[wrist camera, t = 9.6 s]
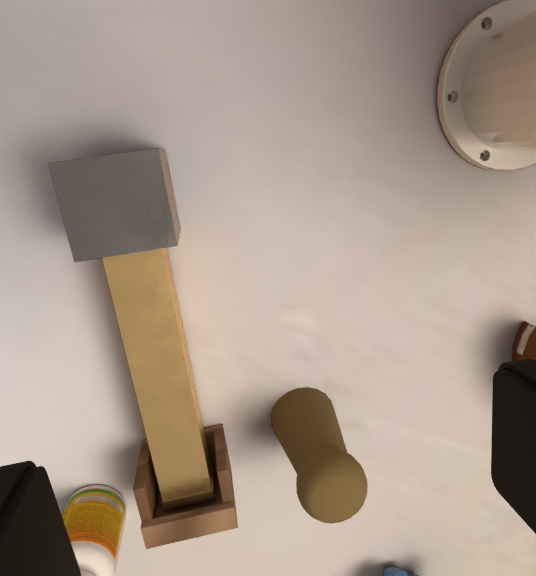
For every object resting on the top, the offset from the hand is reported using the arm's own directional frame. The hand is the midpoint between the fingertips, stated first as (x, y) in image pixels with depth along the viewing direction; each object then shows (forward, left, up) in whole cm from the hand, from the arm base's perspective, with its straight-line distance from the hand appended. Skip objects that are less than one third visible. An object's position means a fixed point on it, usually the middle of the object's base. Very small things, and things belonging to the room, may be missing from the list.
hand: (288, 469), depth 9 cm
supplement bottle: (+15, +23, -28) cm, 40 cm away
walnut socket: (+6, +19, -28) cm, 35 cm away
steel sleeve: (+6, -4, -28) cm, 29 cm away
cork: (-5, +18, -28) cm, 34 cm away
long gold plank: (+6, +8, -28) cm, 30 cm away
